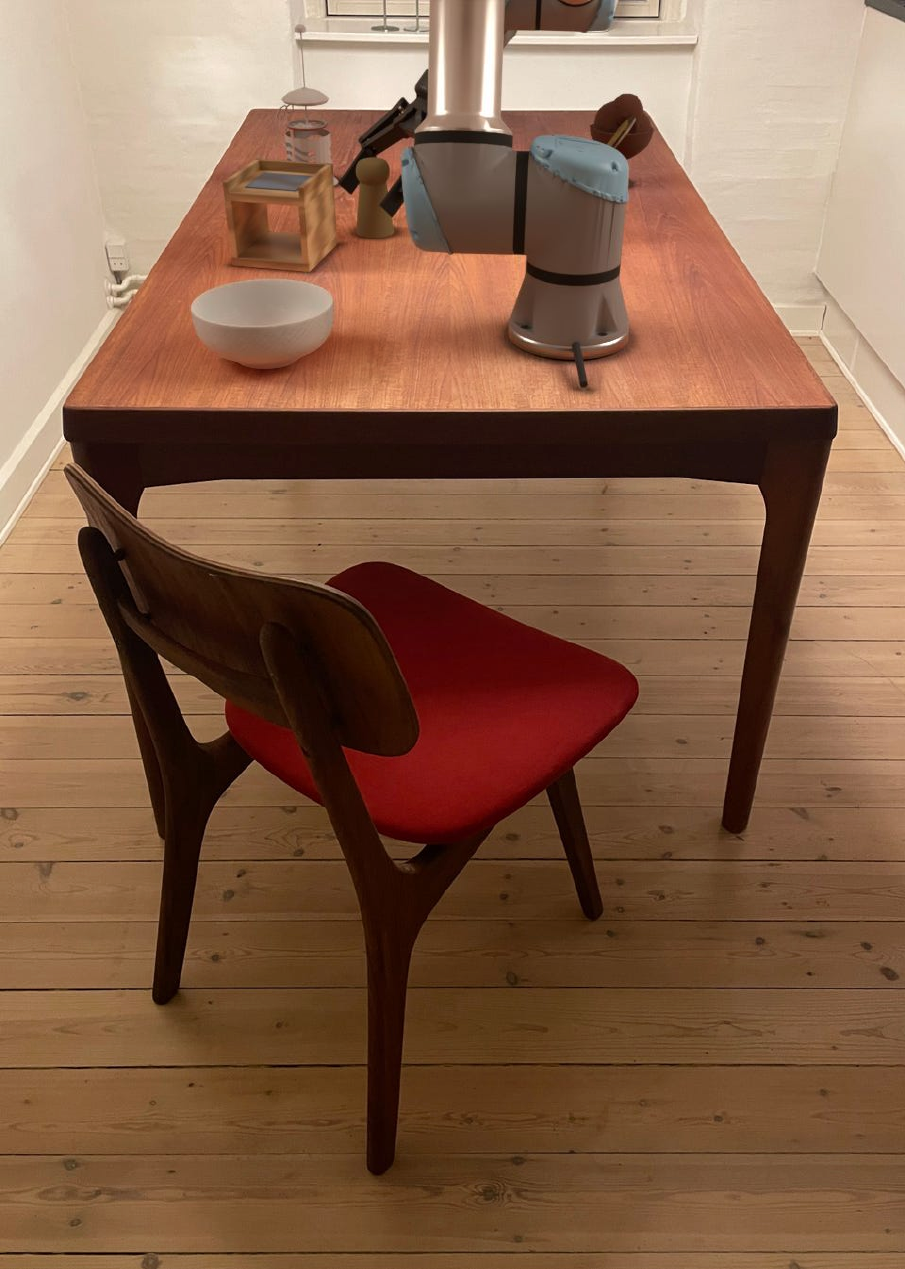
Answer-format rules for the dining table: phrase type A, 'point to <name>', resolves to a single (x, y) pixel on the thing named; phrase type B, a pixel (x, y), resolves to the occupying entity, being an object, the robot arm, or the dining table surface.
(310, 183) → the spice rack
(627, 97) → the ice cream bowl
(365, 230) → the olive pawn piece
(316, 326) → the cereal bowl
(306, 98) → the french press
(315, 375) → the dining table surface
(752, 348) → the dining table surface
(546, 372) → the dining table surface
